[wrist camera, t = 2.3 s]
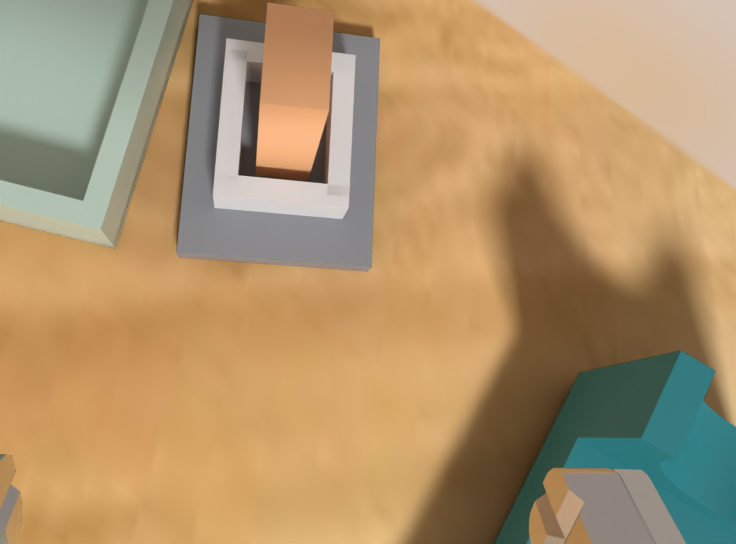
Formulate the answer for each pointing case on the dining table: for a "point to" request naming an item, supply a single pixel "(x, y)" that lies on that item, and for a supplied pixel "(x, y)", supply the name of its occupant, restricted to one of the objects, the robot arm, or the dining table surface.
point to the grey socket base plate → (267, 194)
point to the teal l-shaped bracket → (645, 443)
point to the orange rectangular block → (293, 90)
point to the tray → (80, 108)
